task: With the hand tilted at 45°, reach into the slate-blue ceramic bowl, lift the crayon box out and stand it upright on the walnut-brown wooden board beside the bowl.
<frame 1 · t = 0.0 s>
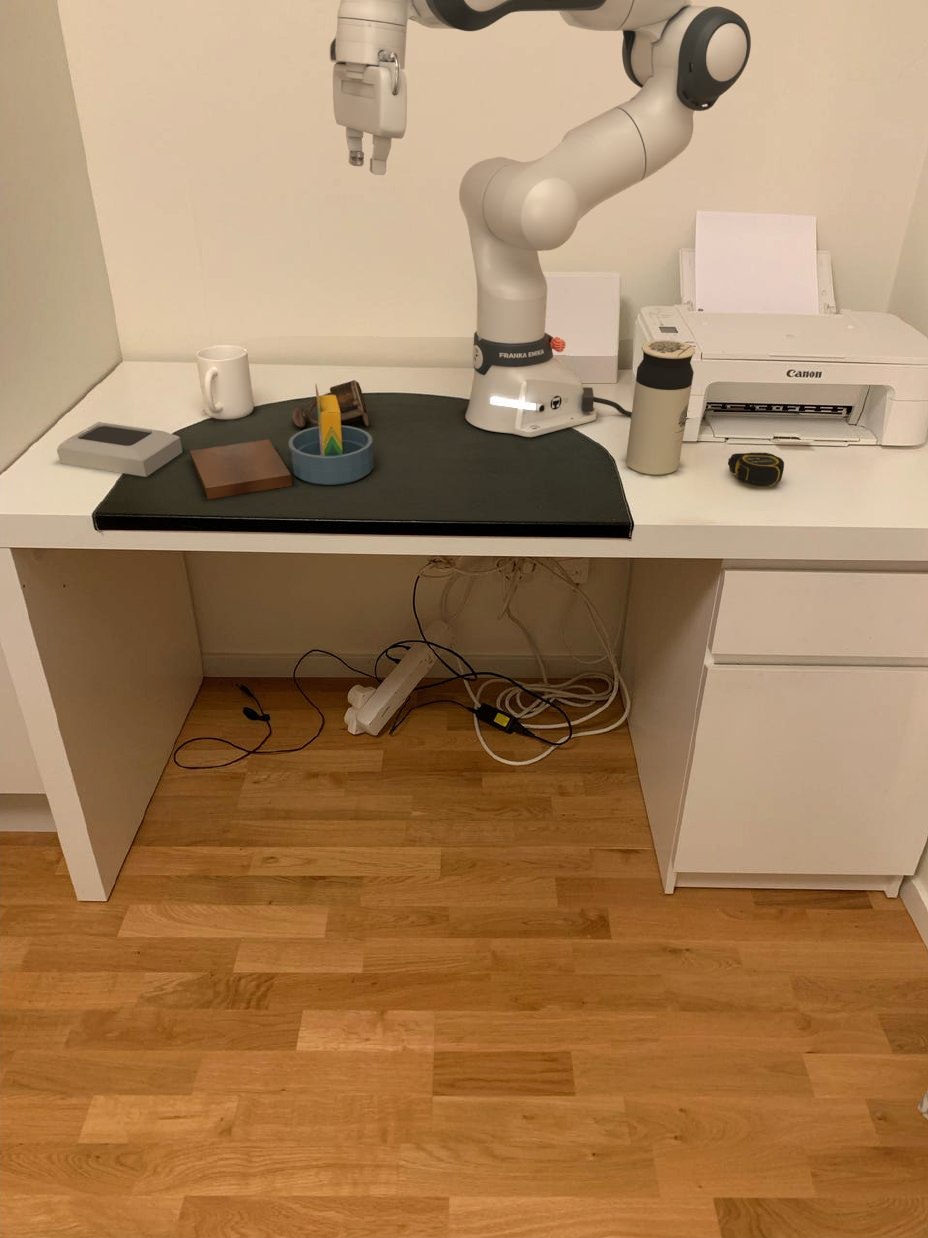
hand: (366, 169, 119), 39 cm above the table, tool pointing down, fingers open, 8 cm apart
bowl: (332, 468, 131), on the table
tape measure: (751, 481, 129), on the table
crayon box: (332, 467, 131), resting on bowl
board: (240, 473, 129), on the table
grey bevelled block: (122, 458, 133), on the table
travel mug: (651, 466, 133), on the table
cup: (226, 416, 149), on the table
brown roll holder: (333, 423, 146), on the table
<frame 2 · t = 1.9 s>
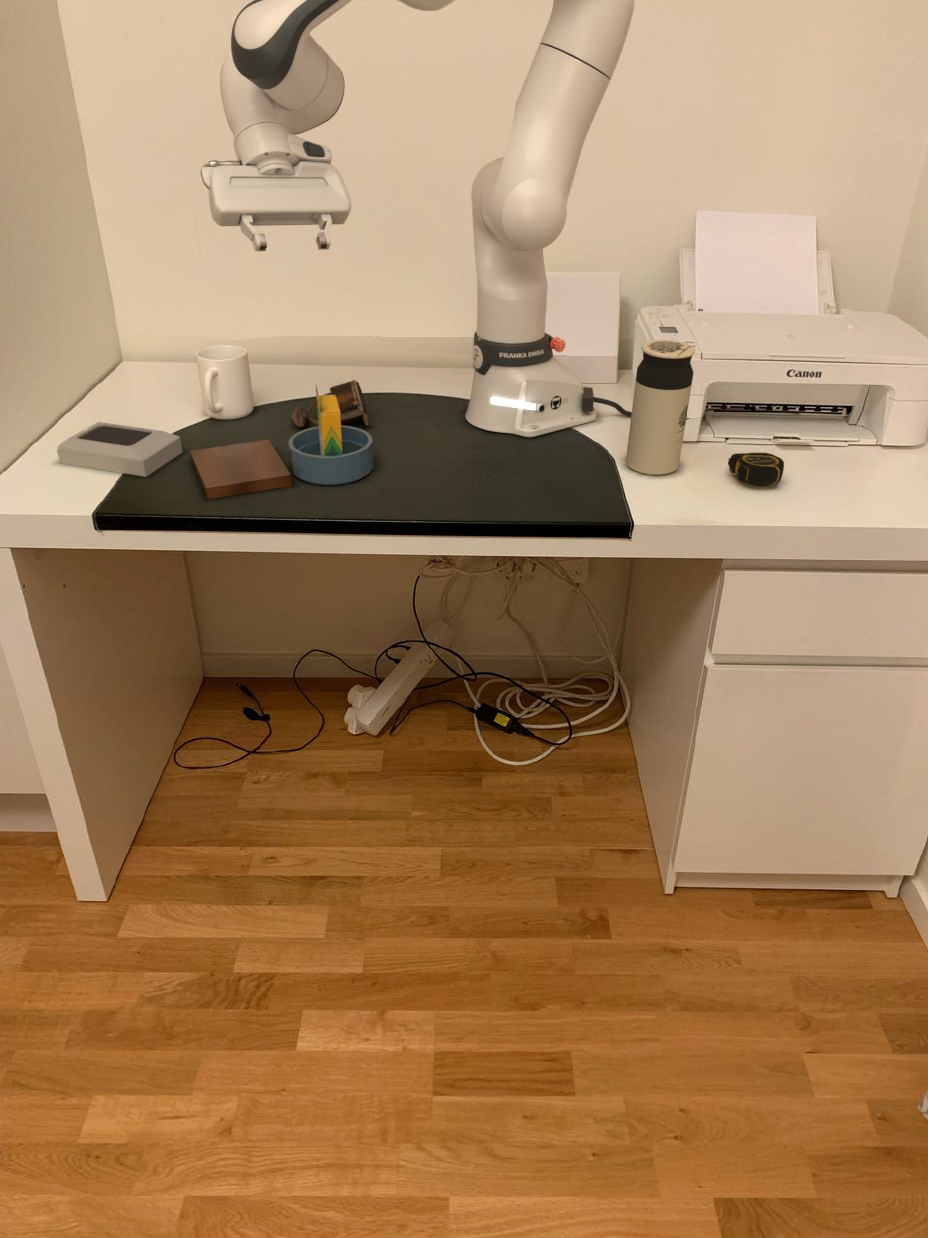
hand: (293, 248, 125), 29 cm above the table, tool tilted 45°, fingers open, 8 cm apart
nothing on the table moved.
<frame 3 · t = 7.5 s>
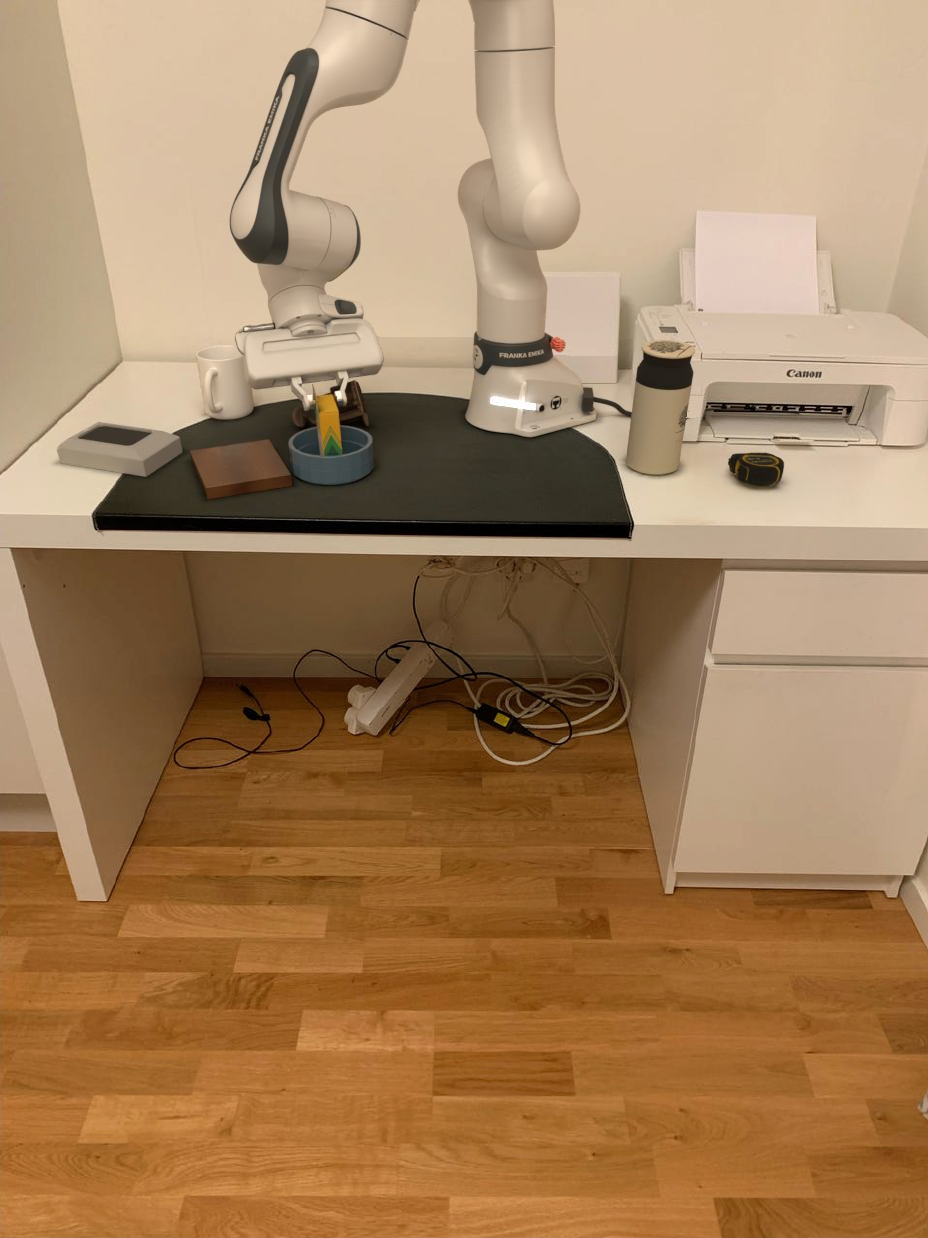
hand: (326, 406, 126), 9 cm above the table, tool tilted 45°, fingers closed on crayon box, 3 cm apart
crayon box: (332, 467, 131), resting on bowl, touching gripper
everything else where it was.
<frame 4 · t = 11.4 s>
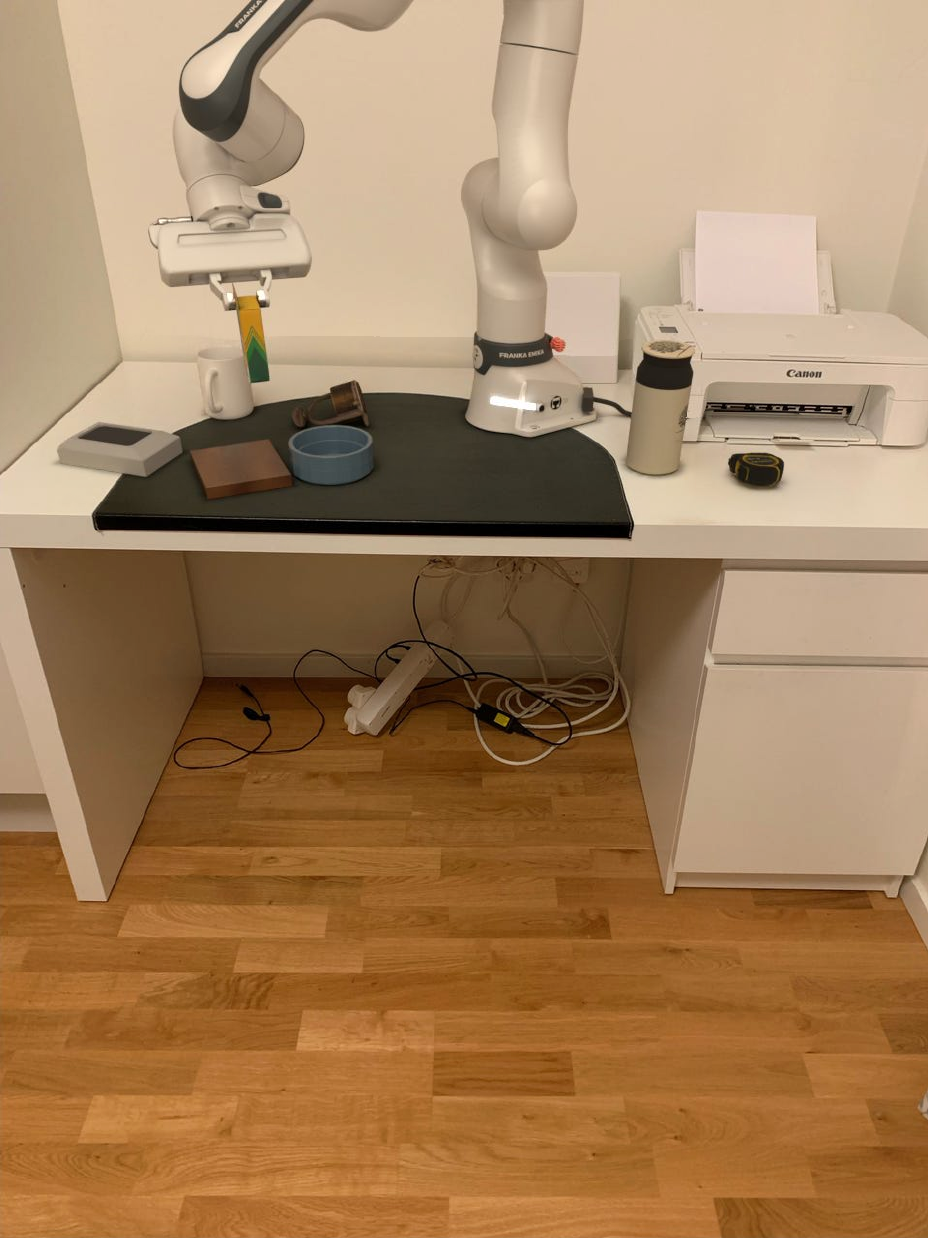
hand: (247, 306, 117), 24 cm above the table, tool tilted 45°, fingers closed on crayon box, 3 cm apart
crayon box: (258, 375, 121), point 15 cm above the table, touching gripper
everything else where it was.
when the fingers open (11 cm above the table, at t = 15.7 s): crayon box stays where it is, resting on board.
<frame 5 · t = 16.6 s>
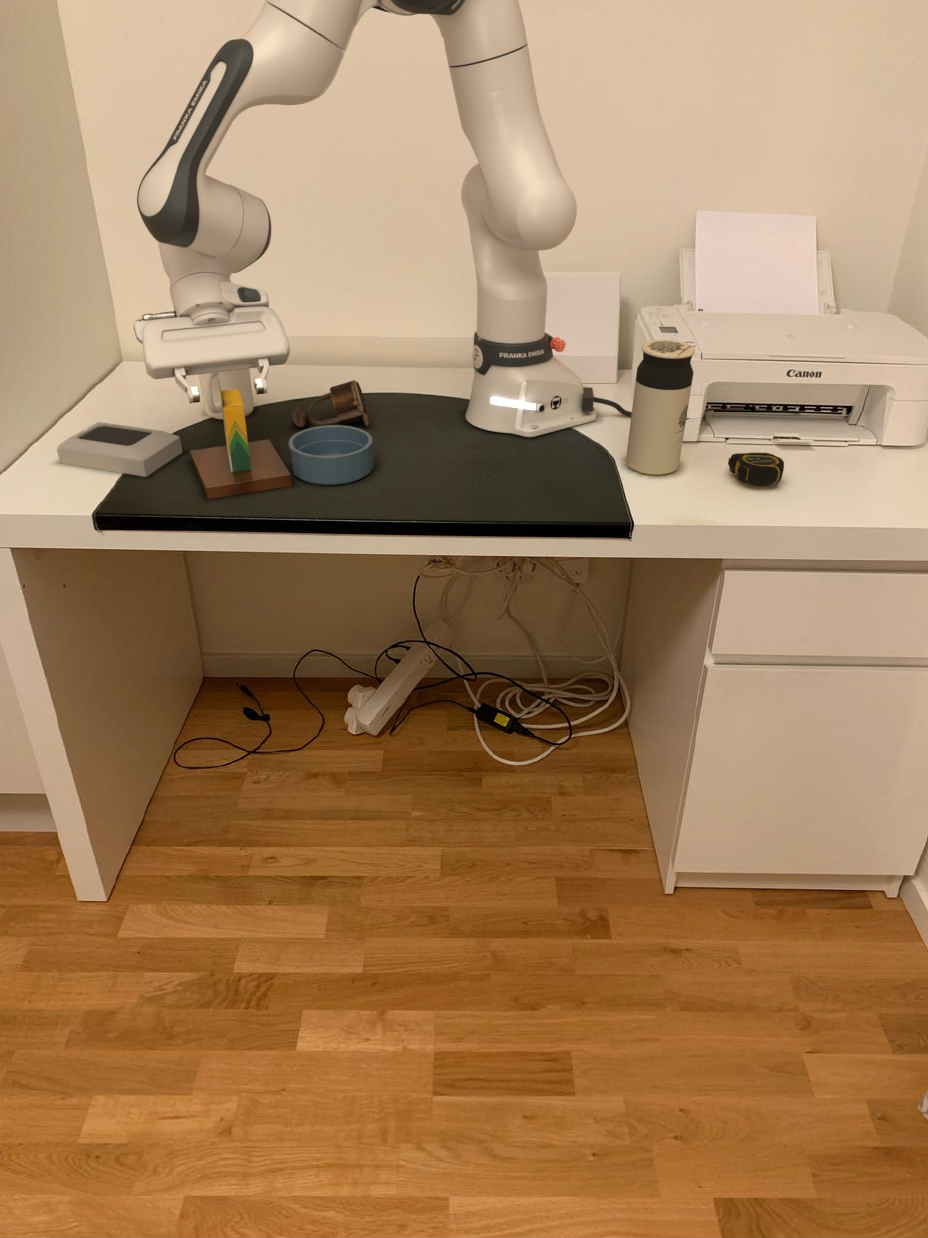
hand: (229, 396, 123), 11 cm above the table, tool tilted 45°, fingers open, 8 cm apart
crayon box: (240, 463, 128), point 2 cm above the table, touching board
everything else where it was.
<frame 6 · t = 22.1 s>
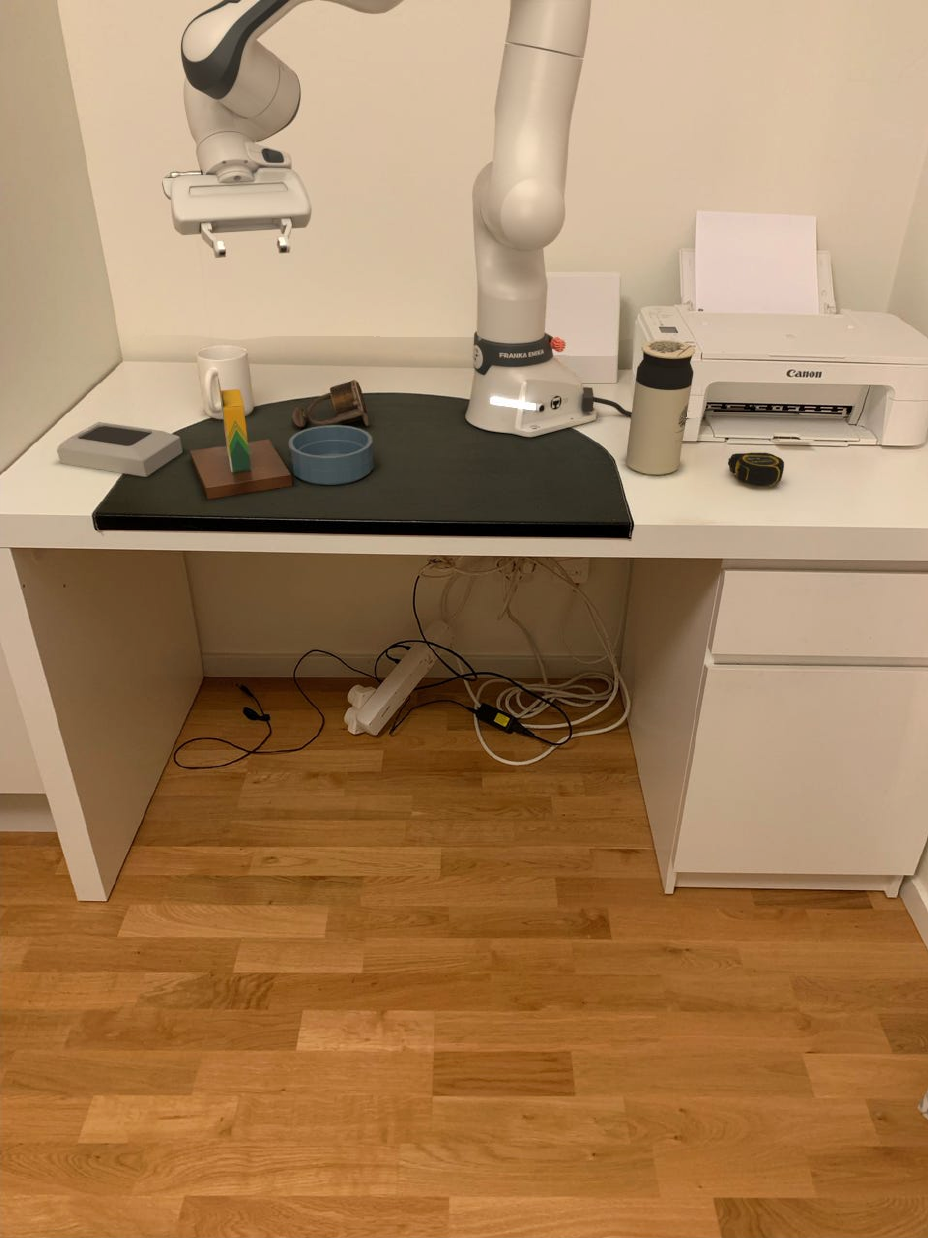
hand: (253, 252, 128), 27 cm above the table, tool tilted 45°, fingers open, 8 cm apart
nothing on the table moved.
at the end: crayon box inside the target area on the board (0.1 cm from its centre), point 1.6 cm above the board's base; crayon box tilted 0°; the gripper is holding nothing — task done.
